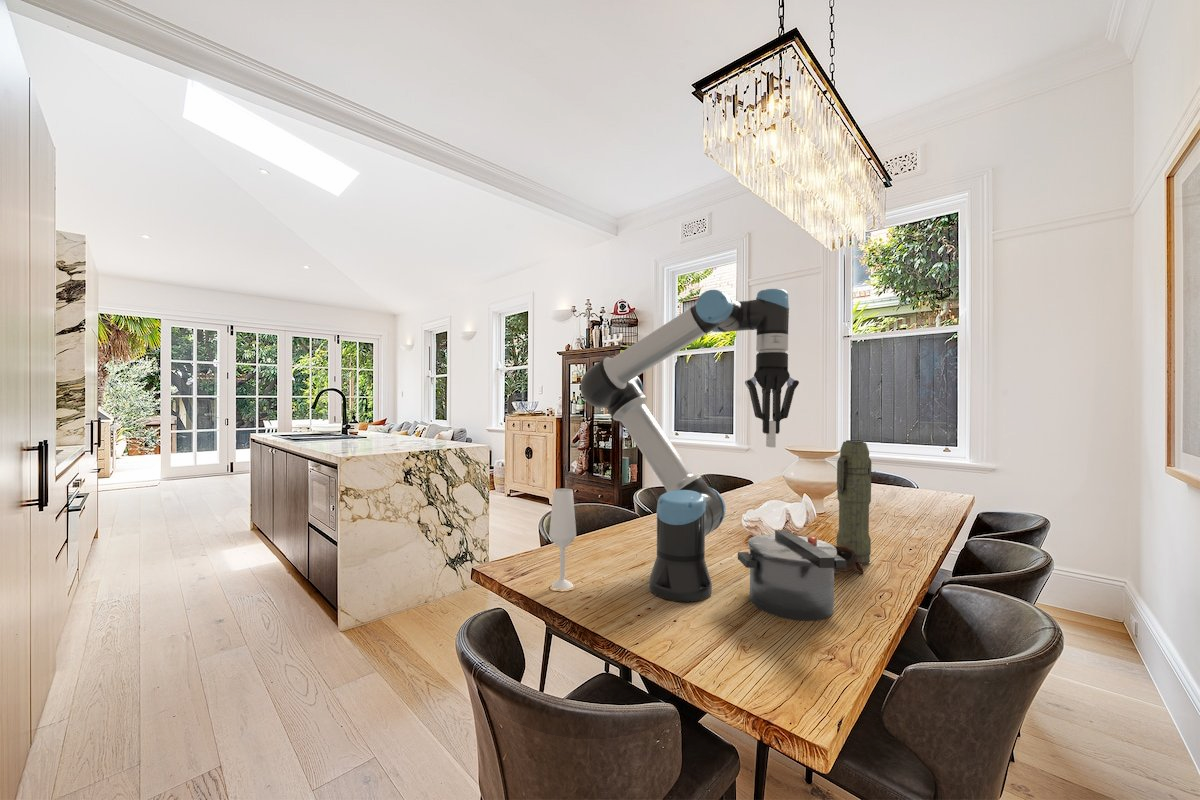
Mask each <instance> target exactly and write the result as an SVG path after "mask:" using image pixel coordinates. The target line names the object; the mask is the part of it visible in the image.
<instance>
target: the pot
mask: <svg viewBox="0 0 1200 800" xmlns="http://www.w3.org/2000/svg"><path fill="white" fill-rule="evenodd" d="M737 560H739V561H738V562H740V563H741V564H742V565H743V566H744V567H745V568H748V569H749V600H750V602H752V603H751V604H754V605H755V606H754V605H753V606H754V607H756V608H757V609H758V610H760V609H761V611H762V610H763V612H765V613H766V612H767V613H766V614H769V615H771V614H772V615H771V616H775V617H777V618H782V619H786V620H791V621H802V622H803V621H805V622H811V621H812V622H813V621H821V620H822V621H823V620H825V619H828V618H831V616H832V615H833V614H834V609H835V602H834V601H835V572H834V568H819V567H817V566H816V565H814V564H813V563H799V562H789V561H782V560H777V559H772V558H768V557H764V556H761V555H759V554H756V553H754V552H752V551H751V550H750V549H749V552H748V551H738V552H737ZM834 563H835V567H836V568H846V560H845V559H843V558H842V557H840V556H838V555H837V557H836V558H835V559H834Z"/></svg>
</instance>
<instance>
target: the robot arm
mask: <svg viewBox="0 0 1200 800" xmlns="http://www.w3.org/2000/svg"><path fill="white" fill-rule="evenodd" d="M789 314H790V306H789V294H788V292H787V291H786V290H785V289H783V288H767V289H762V290H760V291H759V290H758V292H757V294H756V298H755V299H752V300H742V301H737V300H735V299H734V298H732V297H731V296H730V295H728V293H726V292H724V291H720V290H718V289H708V290H705V291H704V292H702V293H701V294H700V296H699V297H698V298H697V300H696V302H695V304H694V305H693V306H691V307H690V308H688V309H687V310H685V311H683V312H682V313H680V314H679V315H677V316H675V317H674V318H672V319H671V320H669V321H667V322H666V323H665V324H663V325H662V326H660V327H659V328H657V329H656V330H654V331H652V332H651V333H649V334H647V335H646V336H644V337H643V338H642V339H640V340H638V341H637V342H635V343H633V344H632V345H630V346H629V347H627V348H626V349H624V350H623V351H621V352H619V353H618V354H617V355H615V356H613V357H609V356H607V357H605V358H603V359H602V360H599V362H596V363H595V364H594V365H592V366H591V367H590V368H589V369H588V370H587V371H585V373H584V375H583V376H582V378H581V381H580V393H581V395H582V397H583V399H584V400H585V402H586V403H588V404H589V405H590V406H591V407H592V406H593V407H595V408H600V409H606V410H607V412H608V414H609V416H610V417H611V418H612V419H613V420H614V421H617V422H620V423H622V425H623V426H624V429H626V432H627V433H628V435H629V436H630V437H631V439H632V440H633V442H634V443H635V445H636V446H637V448H638V449H639V451H640V452H641V454H642V455H643V457H644V458H645V460H646V462H647V463H648V464H649V466H650V467H651V469H652V471H653V472H654V474H655V475H656V476H657V478H658V480H659V481H660V482H661V484H662V486H663V487H664V489H665V491H666V492H664V493H663V494H661V495H660V496H659V497H658V499H657V505H656V557H655V560H654V564H653V567H652V570H651V573H650V576H649V581H648V583H649V585H648V586H649V587H648V588H649V591H650V590H651V591H652V592H653V593H654V594H653V593H652V592H651V591H650V592H651V593H652V594H653V595H655V594H656V595H655V596H657V595H658V596H657V597H659V596H660V597H659V598H661V597H662V598H661V599H664V598H665V600H668V599H669V600H668V601H672V600H675V601H674V602H681V601H684V602H683V603H687V602H689V603H690V601H691V603H692V602H698V601H702V600H705V599H707V598H709V597H710V596H711V595H712V593H713V590H712V589H713V588H712V586H713V584H712V583H713V582H712V579H711V576H710V573H709V570H708V566H707V563H706V559H705V556H706V555H705V553H706V552H705V550H706V548H705V547H706V536H708V535H709V534H710V533H713V532H714V531H715V530H717V529H718V528H719V527H720V525H721V524H722V523H723V522H724V519H725V516H726V509H727V508H726V503H725V500H724V498H723V496H722V494H721V493H719V491H717V490H716V489H714V488H712V487H709V485H708V484H707V483H706V481H705V480H704V478H703V477H702V476H701V475H698V474H694V473H693V472H692V470H690V467H688V465H687V464H686V462H685V460H684V459H683V458H682V455H680V453H679V452H678V450H677V449H676V447H675V446H674V445H673V443H672V441H671V439H669V438H668V436H667V434H666V433H665V431H664V430H663V429H662V427H661V426H660V424H659V423H658V421H657V420H656V419H655V417H654V416H653V414H652V413H651V411H650V410H649V408H648V407H647V404H646V403H647V396H646V395H645V393H644V392H643V391H644V387H643V382H642V381H641V379H640V378H639V376H640V375H641V374H643V373H644V372H646V371H648V370H650V369H651V368H653V367H654V366H656V365H658V364H660V363H661V362H663V361H665V360H666V359H667V358H669V357H671V356H672V355H674V354H676V353H678V352H679V351H681V350H683V349H684V348H685V347H688V346H689V345H690V344H692V343H694V342H695V341H697V340H699V339H700V338H702V337H704V336H705V335H707V334H709V333H710V332H713V333H727V332H740V331H754V330H755V331H756V343H755V344H756V349H755V351H756V352H757V354H756V355H755V356H756V357H755V372H754V374H753V377H751V378H750V379H747V380H745V381H744V384H745V386H746V388H747V389H748V392H749V395H750V401H751V404H752V409H753V413H754V417H755V418H758V419H759V420H761V421H762V434H764V435H765V434H766V435H765V436H766V437H765V438H766V439H765V447H767V448H776V441H777V440H776V439H777V436H776V435H779V434H780V431H781V428H780V427H781V425H780V423H781V421H783V419H788V417H789V413H790V410H791V406H792V402H793V398H794V395H795V391H796V388H797V387H798V385H799V383H800V382H799V380H797V379H796V380H795V379H794V378H792V377H791V374H790V373H789V354H788V353H787V351H789V320H790V319H789V318H790V316H789ZM757 383H758V385H759V386H760V388H761V394H762V398H761V399H762V401H761V402H762V404H760V398H759V394H758V390H757V387H756V386H757ZM785 384H786V387H787V388H786V390H785V393H784V397H783V402H781V398H782V397H781V396H782V388H783V387H784V385H785ZM771 393H772V416H771ZM781 403H782V406H781ZM771 417H772V420H770V419H771ZM685 601H686V602H685Z"/></svg>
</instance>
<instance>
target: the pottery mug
mask: <svg viewBox="0 0 1200 800" xmlns="http://www.w3.org/2000/svg"><path fill="white" fill-rule="evenodd" d="M832 545H833V546H834V547H835V548H836V549H837V555H838V556H840V557H842V558H843V559H845V560H846V568H836V567H835V568H834V573H845V572H849V571H851V570H855V571H858V572H859V573H860V574H861V573H862V575H864V567H863V566H862V565H861V564H860V563H861V560H860V559H859V558H860V557H859V556H858V555H857V554H856V553H855V552H854V551H853V550H852V549H851V548H849V547H846V546H837V545H835V544H832ZM841 552H844V554H843V553H841Z"/></svg>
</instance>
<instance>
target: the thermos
mask: <svg viewBox="0 0 1200 800" xmlns="http://www.w3.org/2000/svg"><path fill="white" fill-rule="evenodd" d="M839 453H840V454H839V457H838V459H837V462H836V463H837V464H836V468H837V469H836V490H837V491H836V492H837V500H838V531H837V533H836V546H846V547H849V548H851V549H852V550H853V551H854V552H855V553H856V554H857V555H858V556H859V557H860V558H859V559H860V560H861V563H860V564H864V565H868V563H869V562H870V563H871V558H870V556H871V553H872V551H871V549H872V547H871V546H872V545H871V544H872V541H871V540H872V539H871V536H870V534H869V531H870V504H871V503H872V459H871V458H870V450H869V447H868V444H867V443H866V442H864V441H863V440H855V439H854V440H851V439H848V440H845V441H843V442H842V444H841V447H840V450H839ZM841 553H843V554H844V552H841ZM870 563H869V564H870Z"/></svg>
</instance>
